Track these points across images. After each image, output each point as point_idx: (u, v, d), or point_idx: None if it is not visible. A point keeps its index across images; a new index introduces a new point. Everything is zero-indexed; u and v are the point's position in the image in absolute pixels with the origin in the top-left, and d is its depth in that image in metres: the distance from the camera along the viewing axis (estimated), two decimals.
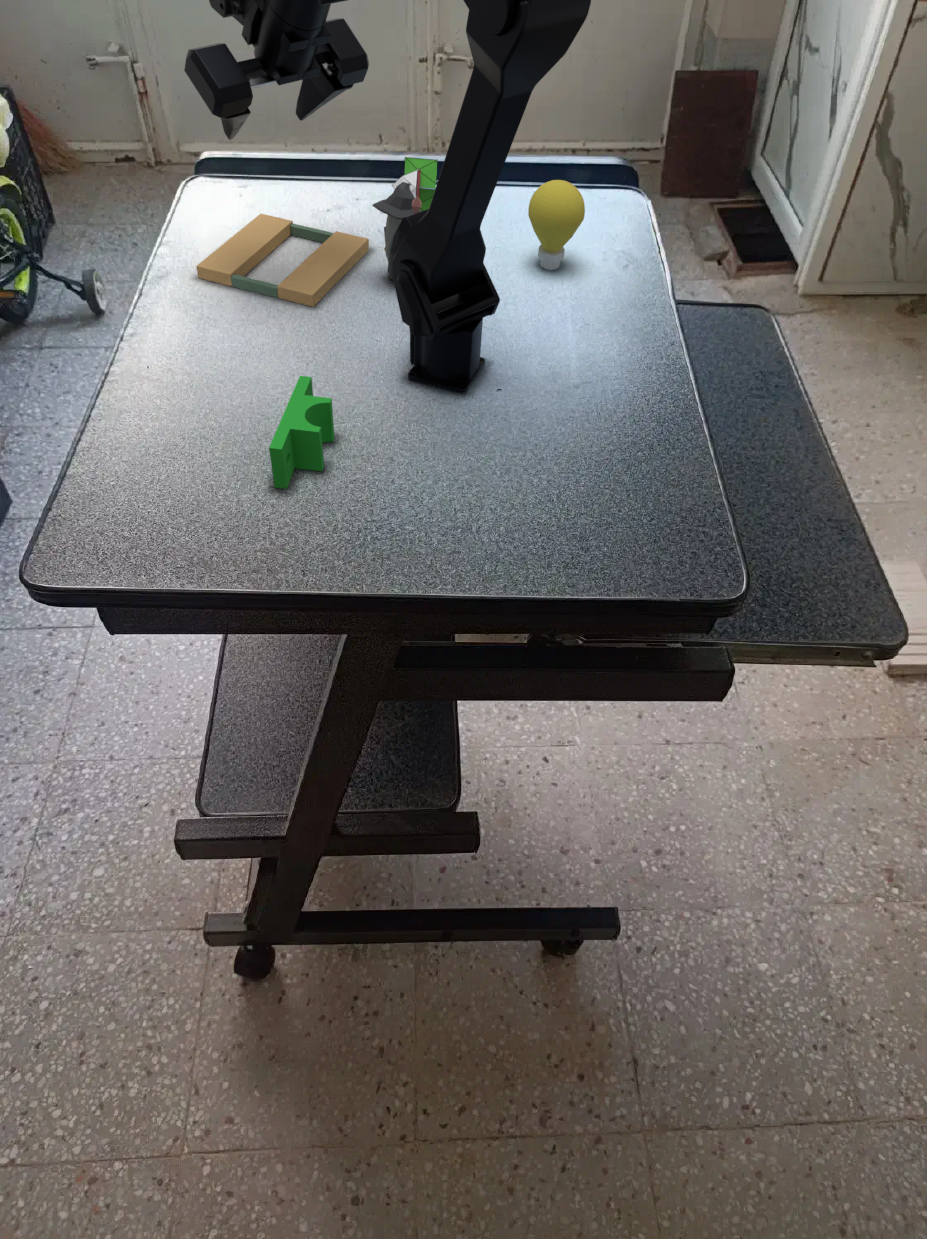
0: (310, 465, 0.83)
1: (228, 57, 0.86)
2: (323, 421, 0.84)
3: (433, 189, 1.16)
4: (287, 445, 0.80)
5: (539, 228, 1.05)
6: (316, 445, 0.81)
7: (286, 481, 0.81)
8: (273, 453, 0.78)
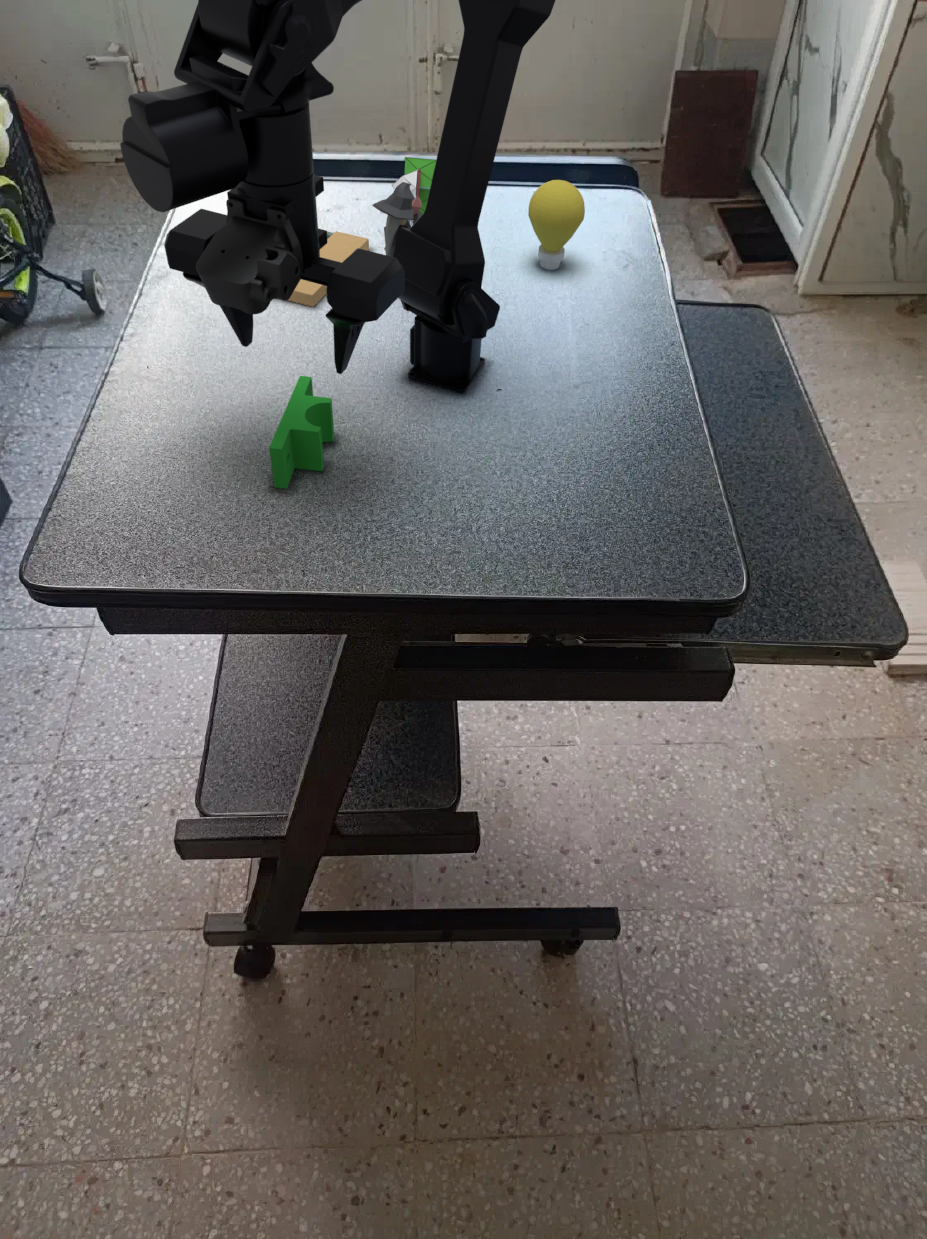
0: (310, 465, 0.83)
1: (347, 265, 0.68)
2: (323, 421, 0.84)
3: None
4: (287, 445, 0.80)
5: (539, 228, 1.05)
6: (316, 445, 0.81)
7: (286, 481, 0.81)
8: (273, 453, 0.78)
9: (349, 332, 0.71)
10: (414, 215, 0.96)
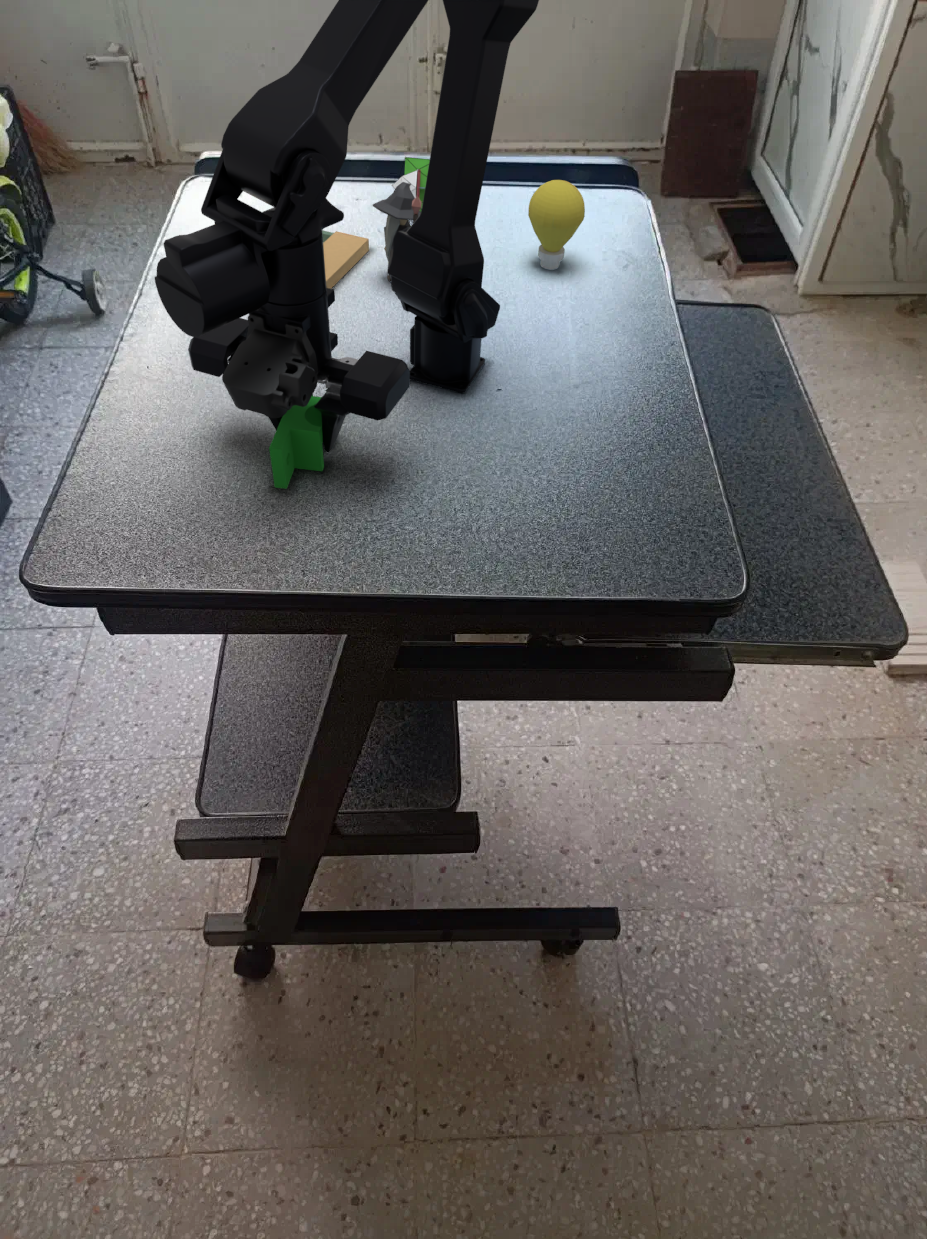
0: (310, 465, 0.83)
1: (357, 369, 0.75)
2: None
3: None
4: (287, 445, 0.80)
5: (539, 228, 1.05)
6: (316, 445, 0.81)
7: (286, 481, 0.81)
8: (273, 453, 0.78)
9: (336, 419, 0.79)
10: (414, 215, 0.96)
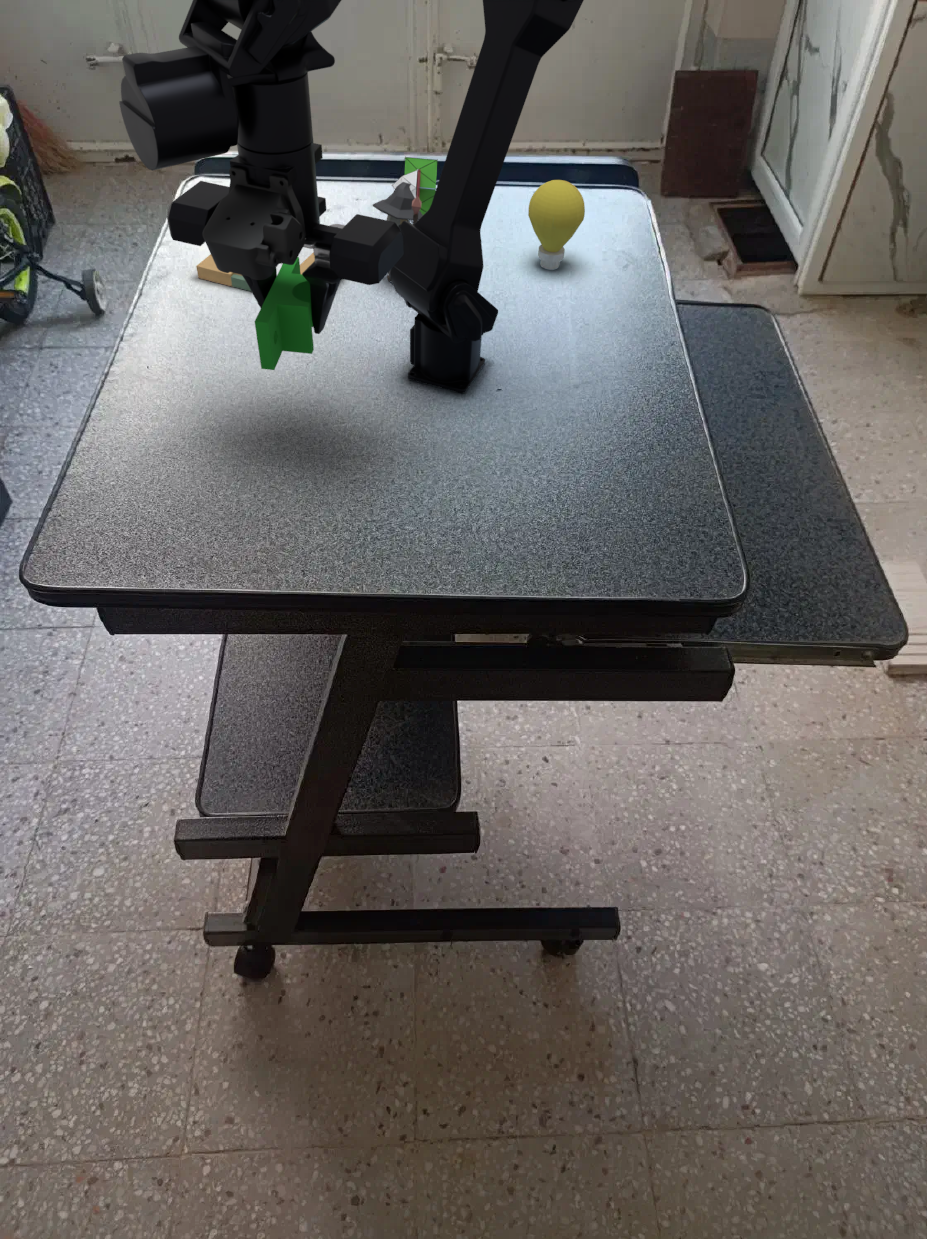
0: (299, 347, 0.78)
1: (348, 230, 0.70)
2: None
3: (433, 189, 1.16)
4: (274, 321, 0.75)
5: (539, 228, 1.05)
6: (305, 323, 0.76)
7: (274, 362, 0.76)
8: (259, 328, 0.74)
9: (325, 291, 0.74)
10: (414, 215, 0.96)
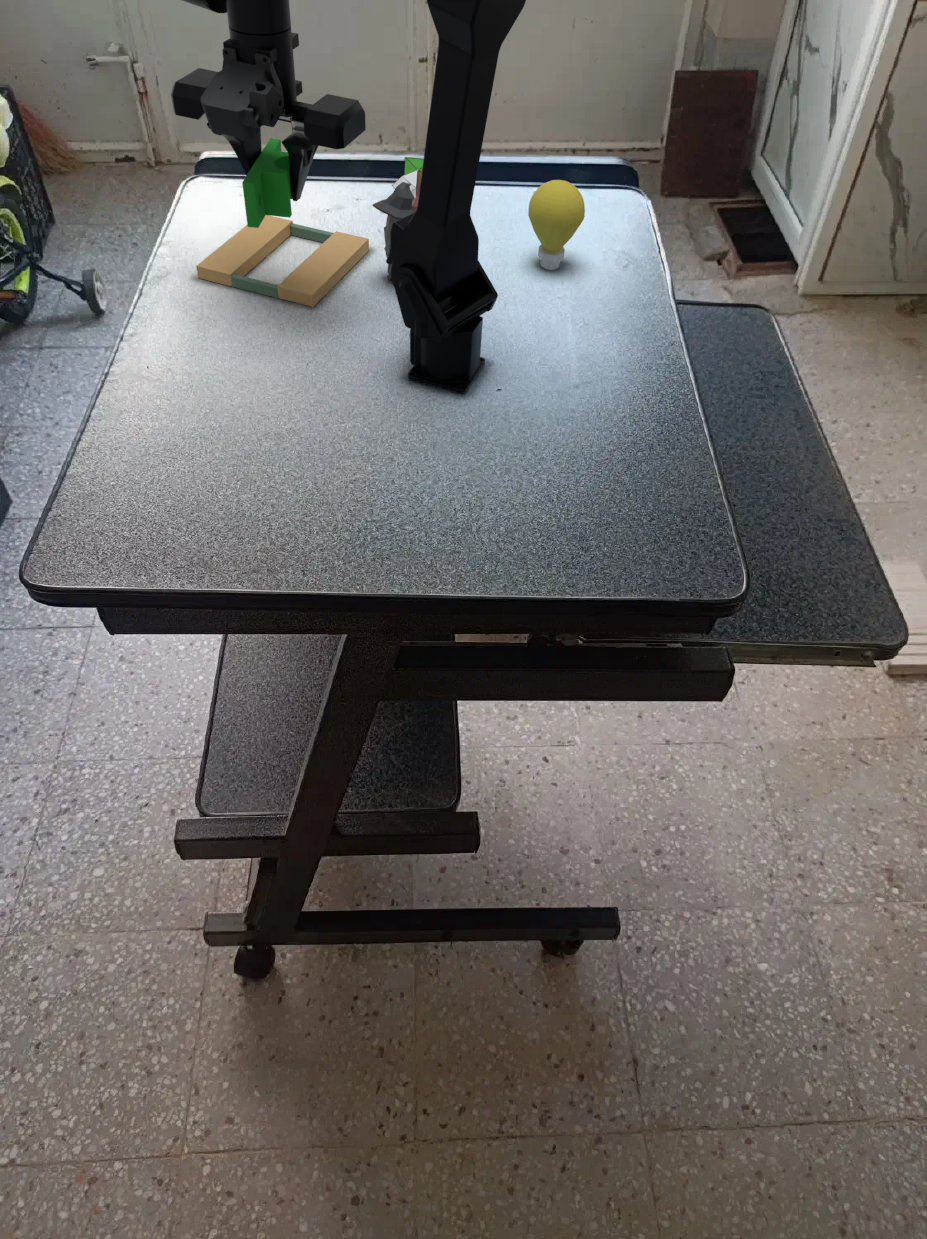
0: (279, 211, 0.94)
1: (319, 104, 0.86)
2: None
3: None
4: (258, 185, 0.91)
5: (539, 228, 1.05)
6: (284, 189, 0.92)
7: (258, 220, 0.92)
8: (246, 188, 0.89)
9: (301, 159, 0.90)
10: None
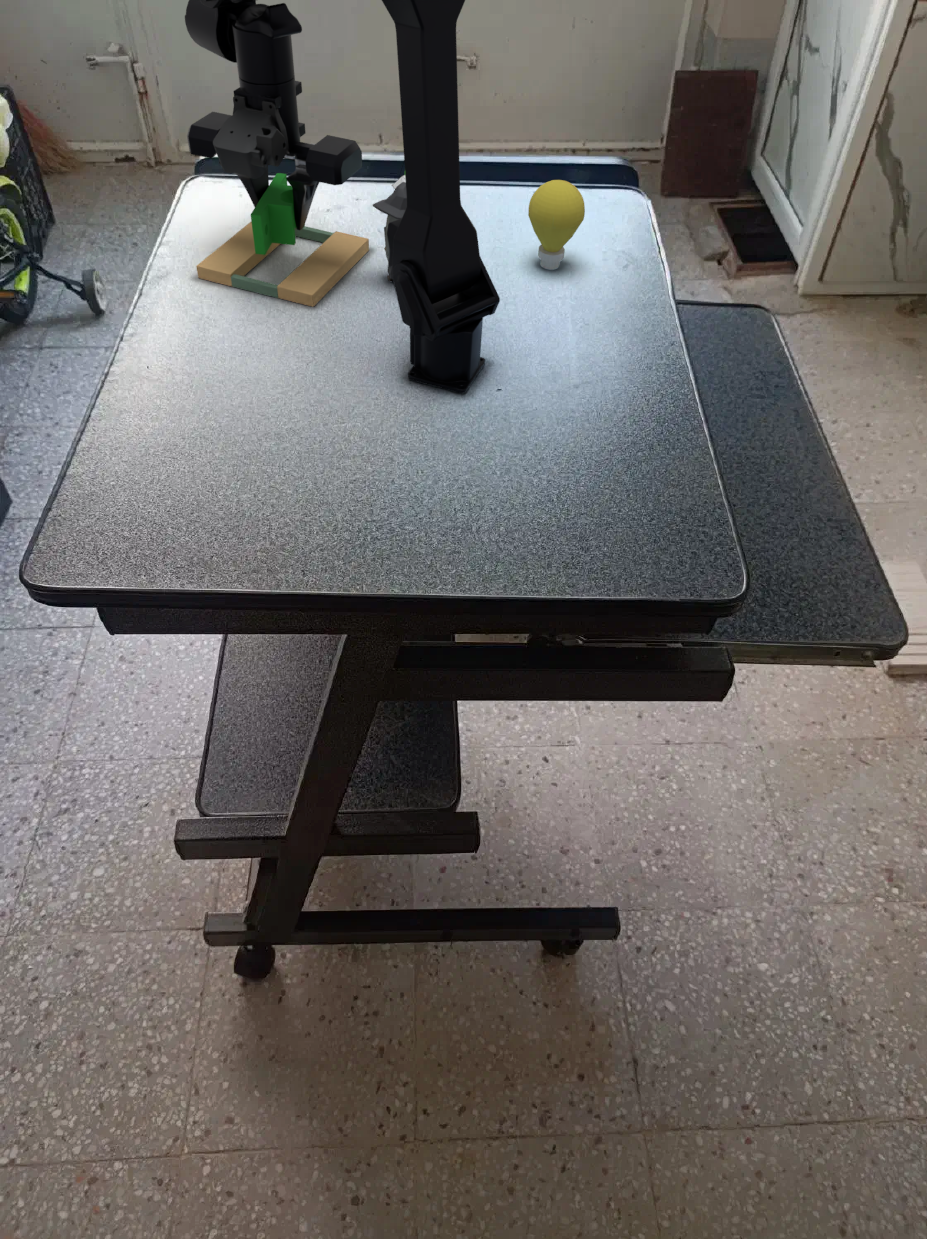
0: (284, 239, 1.03)
1: (319, 145, 0.95)
2: None
3: None
4: (265, 216, 1.00)
5: (539, 228, 1.05)
6: (289, 219, 1.01)
7: (265, 248, 1.01)
8: (254, 220, 0.99)
9: (304, 193, 0.99)
10: None
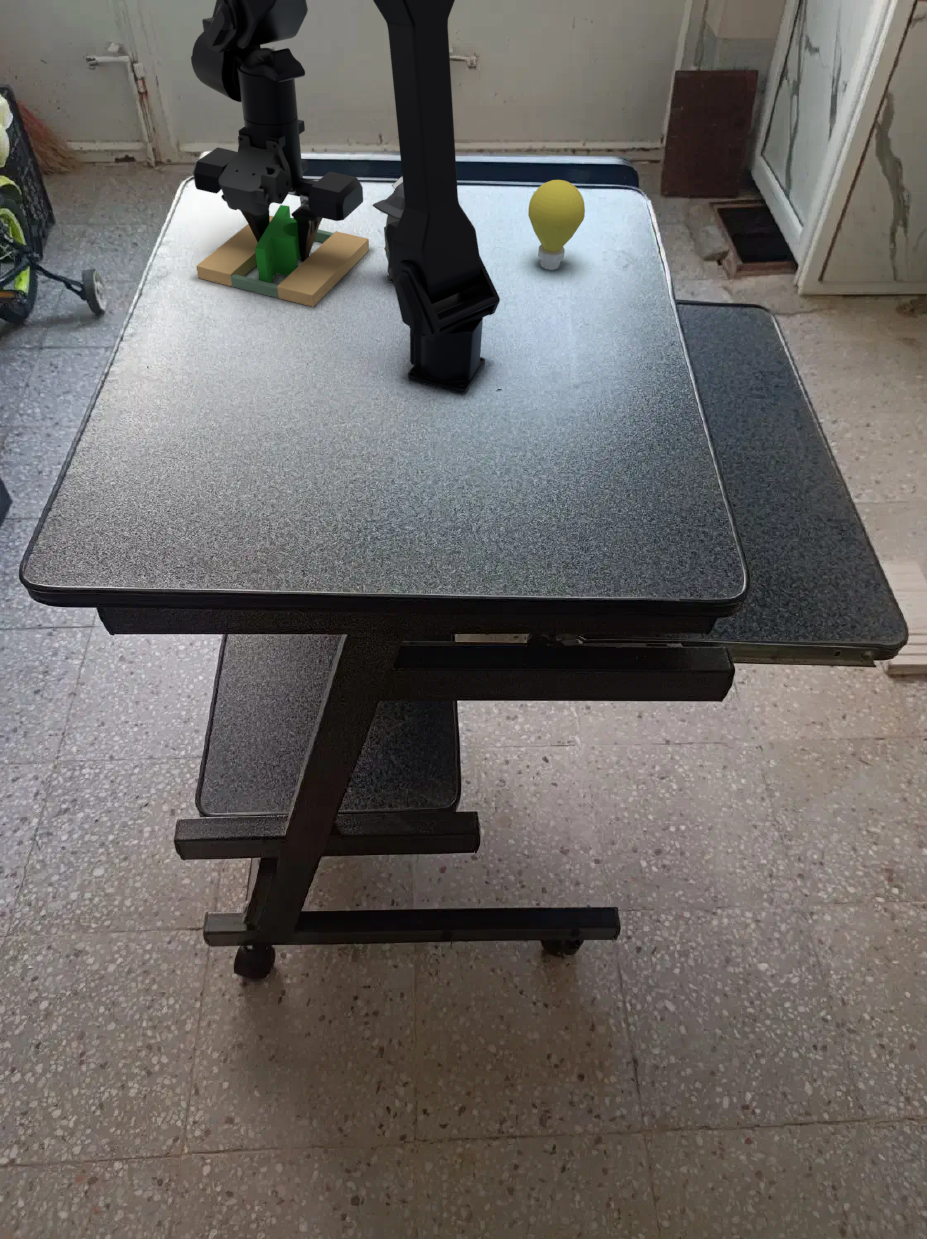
0: (287, 271, 1.06)
1: (322, 182, 0.98)
2: None
3: None
4: (269, 249, 1.03)
5: (539, 228, 1.05)
6: (292, 252, 1.04)
7: (269, 280, 1.04)
8: (258, 253, 1.01)
9: (308, 228, 1.02)
10: None
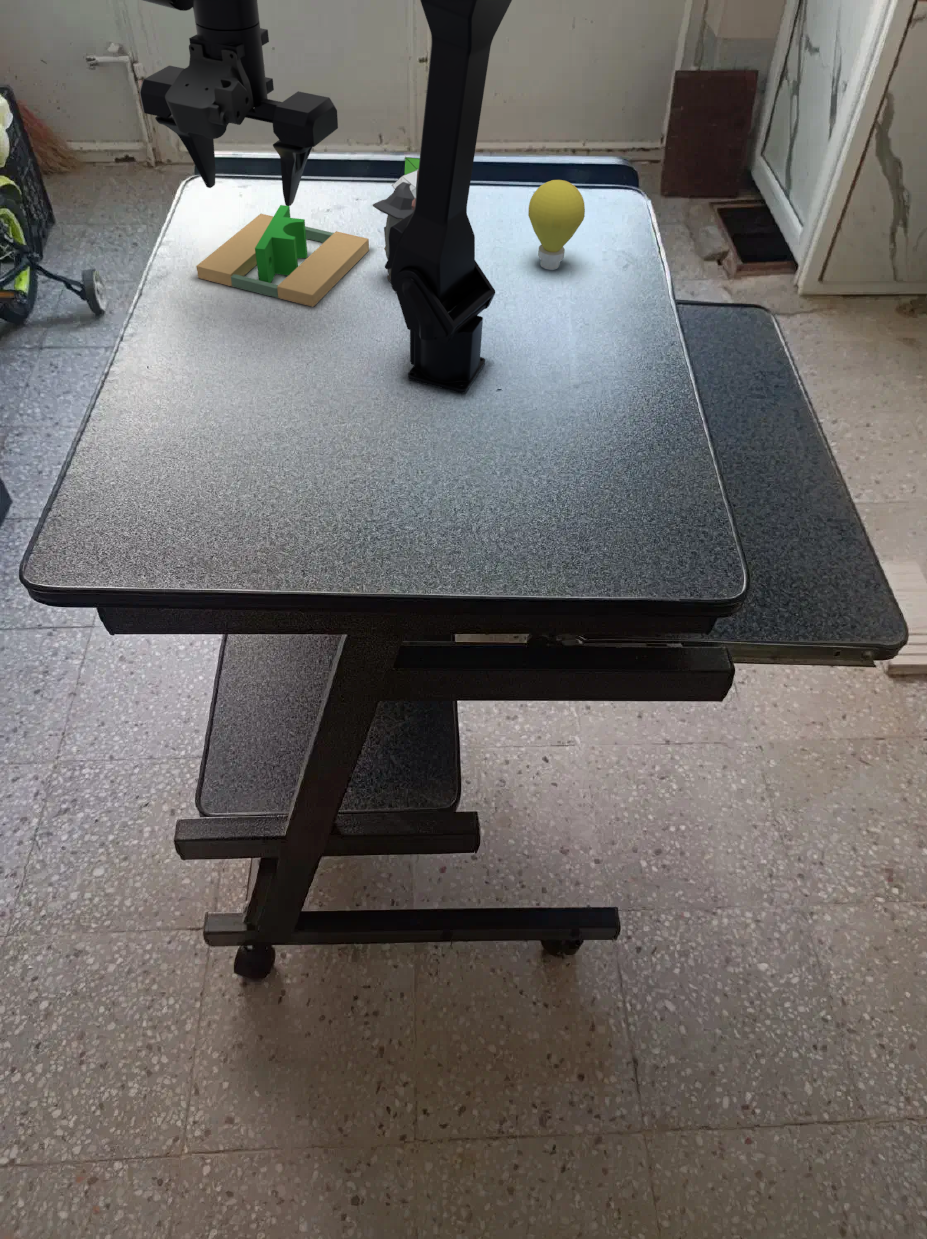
0: (287, 271, 1.06)
1: (288, 102, 0.84)
2: (298, 239, 1.07)
3: None
4: (269, 249, 1.03)
5: (539, 228, 1.05)
6: (292, 252, 1.04)
7: (269, 280, 1.04)
8: (258, 253, 1.01)
9: (293, 163, 0.87)
10: None
